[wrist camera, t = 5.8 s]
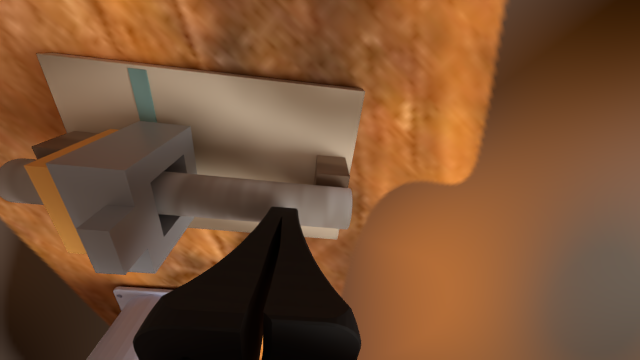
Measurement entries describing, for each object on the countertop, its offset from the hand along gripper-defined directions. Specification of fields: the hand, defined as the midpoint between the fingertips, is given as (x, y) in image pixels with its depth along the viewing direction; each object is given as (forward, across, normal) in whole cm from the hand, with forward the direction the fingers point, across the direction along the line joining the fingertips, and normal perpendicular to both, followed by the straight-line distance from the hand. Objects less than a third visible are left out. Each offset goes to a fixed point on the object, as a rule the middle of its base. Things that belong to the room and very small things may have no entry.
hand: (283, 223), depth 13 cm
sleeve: (+5, +8, 0) cm, 9 cm away
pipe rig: (+7, +6, 0) cm, 9 cm away
